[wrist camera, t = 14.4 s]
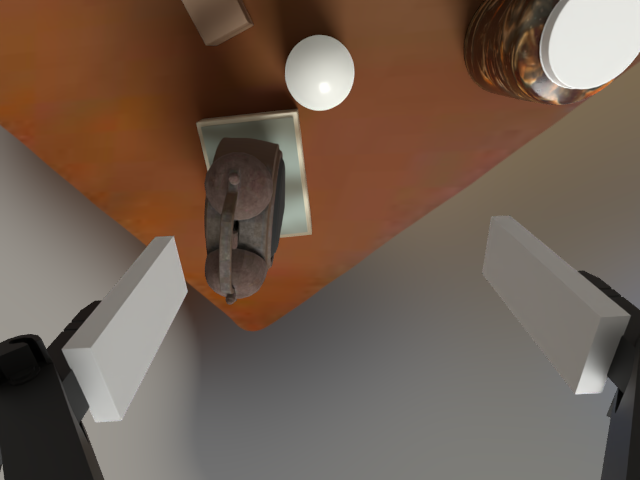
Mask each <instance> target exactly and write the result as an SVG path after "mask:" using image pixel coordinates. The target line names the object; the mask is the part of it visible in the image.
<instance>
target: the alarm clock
mask: <svg viewBox="0 0 640 480" xmlns="http://www.w3.org/2000/svg"><path fill="white" fill-rule="evenodd" d="M204 184H205V190H206V200H205V238H206V248H207V258H206V263H205V277H206V280H207V283H208V285H209V286H210V287H211V288H212V289H213V290H214V291H215V292H216V293H218V294H220V295H222V296H224V297H226V302H227V304H233V303H234V302H235V301H237V299H236V298H245V297H248V296H251V295H252V294H254V293H256V292H257V291H258V290H259V289H260V287H261V285H262V284H263V282H264V280H265V277H266V274H267V271H268V269H269V268H270V267H271V266H272V263H273V258H274V253H275V252H276V250H277V247H278V243H279V238H280V232H281V227H282V221H283V215H284V209H285V163H284V160H283V153H282V151H281V150H280V149H279V144H275V143H271V142H267V141H262V140H258V139H252V138H226V137H224V138H223V139H222V140H221V141H220V142H219V144H218V147H217V149H216V152H215V155H214V159H213V163H212V165H211V167H210V168H209V170H208V171H207V174H206V179H205V183H204Z"/></svg>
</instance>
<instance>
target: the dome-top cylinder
mask: <svg viewBox="0 0 640 480" xmlns="http://www.w3.org/2000/svg"><path fill="white" fill-rule="evenodd" d="M285 79H286V84H287V87H288V89H289V91H290V93H291V95H292V96H293V97H294V99H295V100H296V101H297V102H298V103H300V104H301V105H302V106H304V107H306V108H309V109H312V110H318V111H319V110H328V109H331V108H333V107H335V106H337V105H338V104H340V103H341V102H342V101H343V100H344V99H345V98H346V97H347V95H348V94H349V92H350V90H351V88H352V85H353V81H354V64H353V60H352V58H351V55H350V53H349V52H348V50H347V49H346V47H345V46H344V45H343V44H342V43H340V42H339V41H338V40H336V39H334V38H332V37H330V36H326V35H314V36H310V37H307V38H305V39H303V40H302V41H300V42H299V43H298V44H297V45H296V46H295V47H294V48H293V49H292V51H291V52H290V54H289V56H288V59H287V62H286V67H285Z"/></svg>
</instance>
